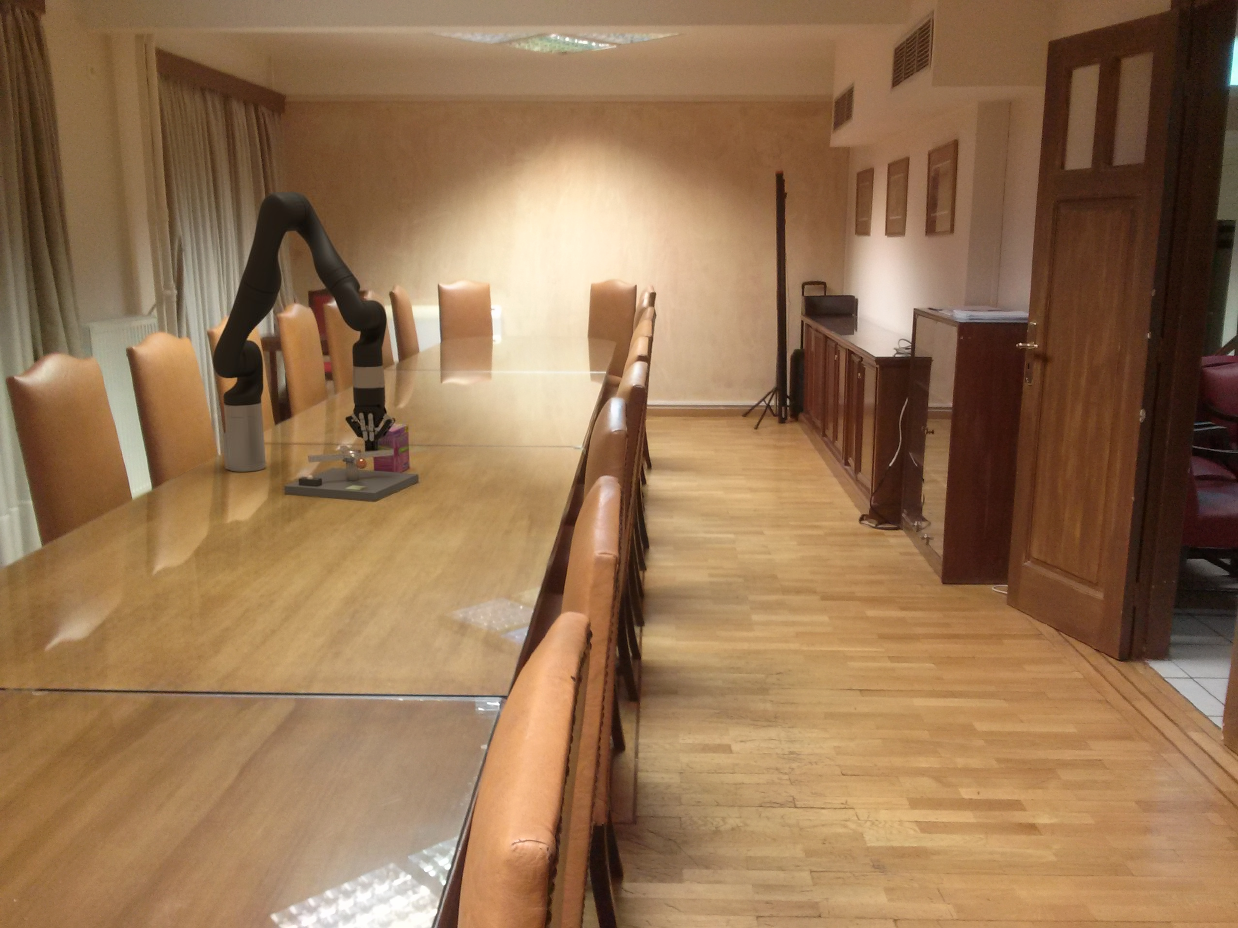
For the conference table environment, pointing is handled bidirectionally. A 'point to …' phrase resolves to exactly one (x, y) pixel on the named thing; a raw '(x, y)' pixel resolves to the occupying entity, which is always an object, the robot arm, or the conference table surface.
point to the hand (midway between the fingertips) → (371, 455)
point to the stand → (351, 484)
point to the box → (400, 444)
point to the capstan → (351, 456)
